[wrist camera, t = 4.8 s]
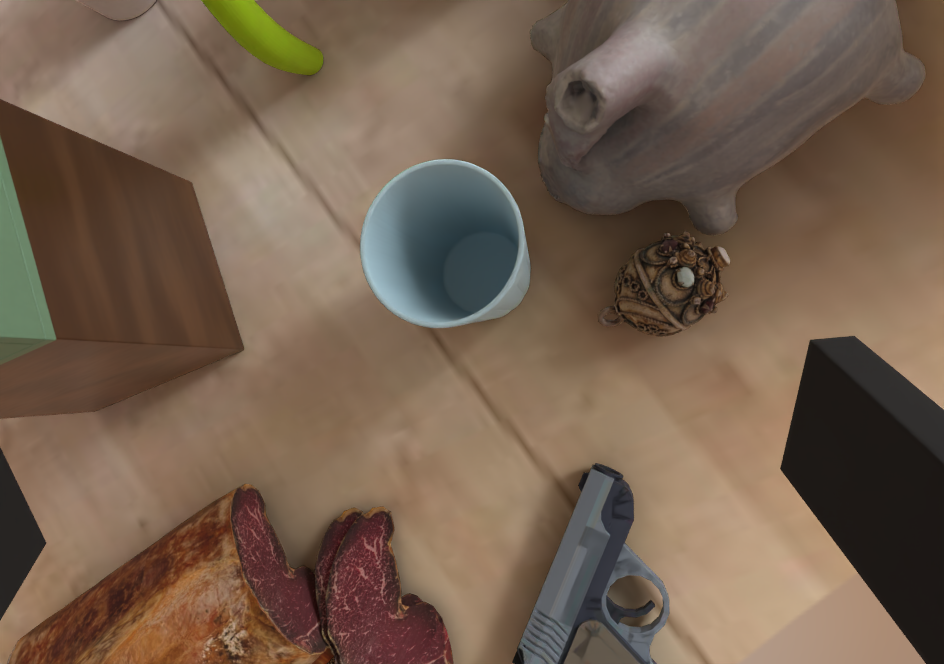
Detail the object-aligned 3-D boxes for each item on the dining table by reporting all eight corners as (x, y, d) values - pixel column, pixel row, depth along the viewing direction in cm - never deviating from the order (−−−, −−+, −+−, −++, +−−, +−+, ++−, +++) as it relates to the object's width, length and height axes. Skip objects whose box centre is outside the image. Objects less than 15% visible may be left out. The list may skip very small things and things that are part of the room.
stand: (192, 181, 46) (-13, 92, 31) (244, 349, 44) (55, 338, 29) (49, 250, 48) (-206, 196, 33) (94, 411, 46) (-152, 430, 32)
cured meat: (495, 656, 39) (468, 715, 32) (183, 874, 43) (101, 967, 36) (322, 404, 42) (266, 410, 36) (46, 625, 46) (-53, 668, 39)
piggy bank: (622, 314, 37) (498, 148, 27) (533, 150, 48) (418, -16, 37) (952, 121, 33) (951, -168, 22) (774, -16, 43) (718, -257, 33)
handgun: (815, 563, 34) (587, 463, 36) (708, 816, 34) (490, 700, 37) (801, 550, 36) (589, 457, 39) (702, 786, 37) (498, 679, 39)
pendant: (762, 312, 33) (709, 247, 31) (631, 381, 37) (575, 327, 35) (740, 255, 37) (691, 192, 35) (623, 322, 41) (572, 270, 39)
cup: (502, 365, 40) (460, 361, 30) (400, 294, 42) (328, 268, 32) (574, 256, 40) (557, 215, 29) (469, 190, 41) (417, 129, 31)
